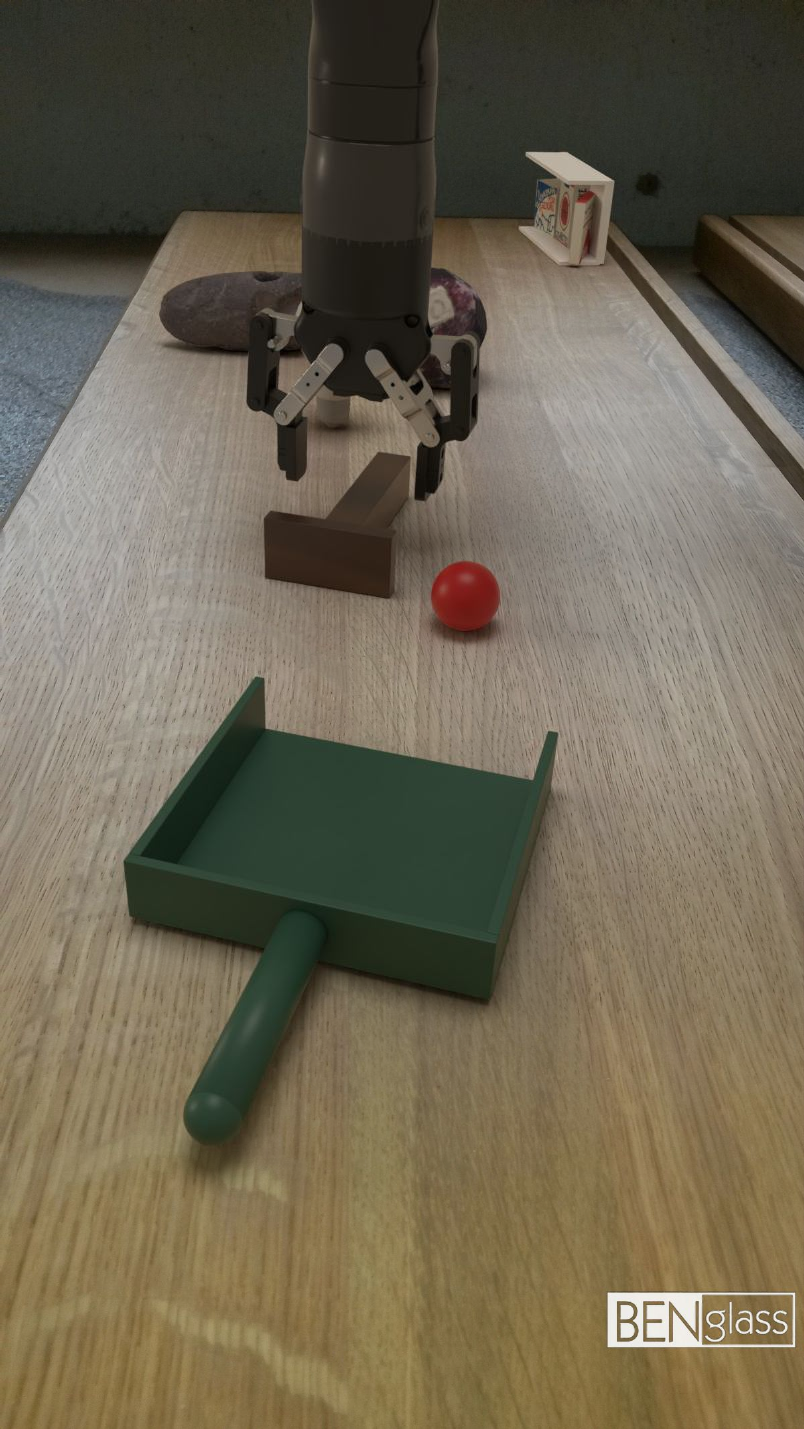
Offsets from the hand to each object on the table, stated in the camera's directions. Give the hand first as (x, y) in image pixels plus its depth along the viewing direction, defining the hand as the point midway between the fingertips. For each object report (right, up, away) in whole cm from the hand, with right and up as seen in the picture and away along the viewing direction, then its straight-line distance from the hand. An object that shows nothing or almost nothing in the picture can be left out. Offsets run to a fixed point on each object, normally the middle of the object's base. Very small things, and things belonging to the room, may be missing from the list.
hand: (358, 486), depth 78 cm
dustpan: (0, -23, -28) cm, 37 cm away
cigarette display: (+23, +43, +74) cm, 89 cm away
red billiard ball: (+6, -8, -8) cm, 13 cm away
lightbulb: (-3, +8, +19) cm, 21 cm away
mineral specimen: (+5, +15, +30) cm, 34 cm away
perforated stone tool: (-12, +19, +35) cm, 41 cm away
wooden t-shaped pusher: (0, -3, +3) cm, 4 cm away
